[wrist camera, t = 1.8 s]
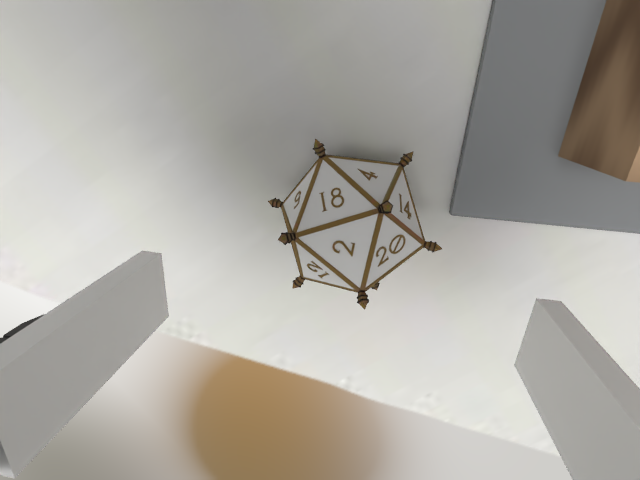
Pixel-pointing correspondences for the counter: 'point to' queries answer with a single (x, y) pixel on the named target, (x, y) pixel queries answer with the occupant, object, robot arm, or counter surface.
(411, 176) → the counter surface
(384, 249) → the game die
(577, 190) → the build mat
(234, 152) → the counter surface
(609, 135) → the walnut block
